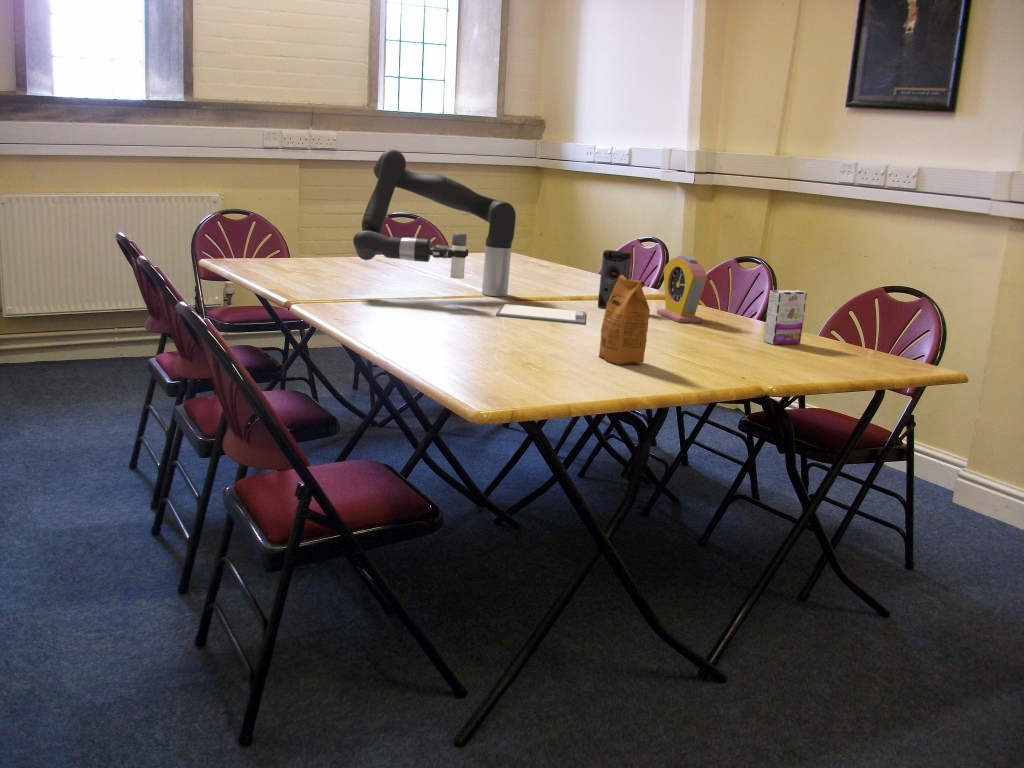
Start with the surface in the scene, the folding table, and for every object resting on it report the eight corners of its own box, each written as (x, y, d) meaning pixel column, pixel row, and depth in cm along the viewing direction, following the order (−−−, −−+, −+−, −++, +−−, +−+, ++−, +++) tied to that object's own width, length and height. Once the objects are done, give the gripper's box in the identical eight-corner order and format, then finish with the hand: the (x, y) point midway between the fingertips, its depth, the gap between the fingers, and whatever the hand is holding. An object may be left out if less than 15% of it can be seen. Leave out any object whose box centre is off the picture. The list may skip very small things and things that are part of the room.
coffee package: (626, 355, 264) (635, 274, 259) (648, 366, 253) (658, 281, 248) (592, 355, 260) (601, 273, 255) (613, 366, 249) (623, 280, 244)
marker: (451, 276, 322) (453, 232, 319) (465, 277, 322) (467, 233, 319) (449, 277, 318) (451, 234, 314) (463, 279, 317) (465, 235, 314)
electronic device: (596, 307, 342) (602, 250, 337) (601, 305, 347) (607, 249, 343) (621, 311, 339) (628, 253, 334) (626, 309, 344) (632, 252, 339)
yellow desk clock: (652, 312, 342) (659, 251, 337) (676, 313, 345) (683, 252, 340) (682, 324, 322) (690, 259, 317) (707, 325, 325) (715, 260, 320)
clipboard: (502, 305, 330) (502, 300, 329) (585, 313, 328) (585, 308, 328) (495, 315, 308) (496, 310, 308) (584, 324, 307) (585, 319, 306)
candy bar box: (789, 341, 308) (796, 289, 304) (800, 344, 303) (808, 292, 299) (761, 341, 302) (769, 289, 299) (772, 345, 298) (780, 291, 294)
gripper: (411, 239, 311) (465, 244, 310) (419, 236, 325) (470, 240, 324) (410, 263, 313) (463, 267, 312) (418, 258, 327) (469, 262, 326)
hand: (466, 253), depth 318 cm, fingers closed on marker, 4 cm apart
